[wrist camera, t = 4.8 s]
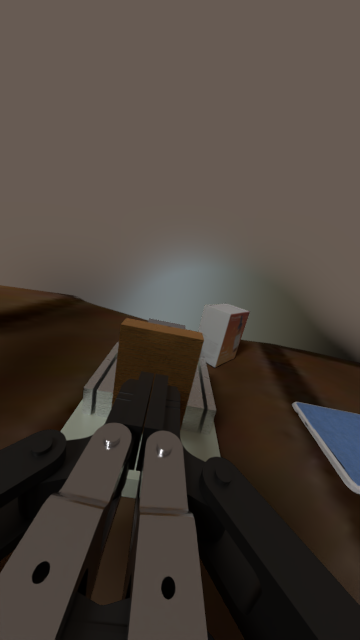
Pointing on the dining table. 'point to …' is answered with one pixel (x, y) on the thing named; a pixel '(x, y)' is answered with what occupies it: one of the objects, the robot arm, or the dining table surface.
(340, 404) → the dining table surface
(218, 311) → the small box
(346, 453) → the tablet computer
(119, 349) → the brown l-shaped piece
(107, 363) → the grey slotted block
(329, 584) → the robot arm
